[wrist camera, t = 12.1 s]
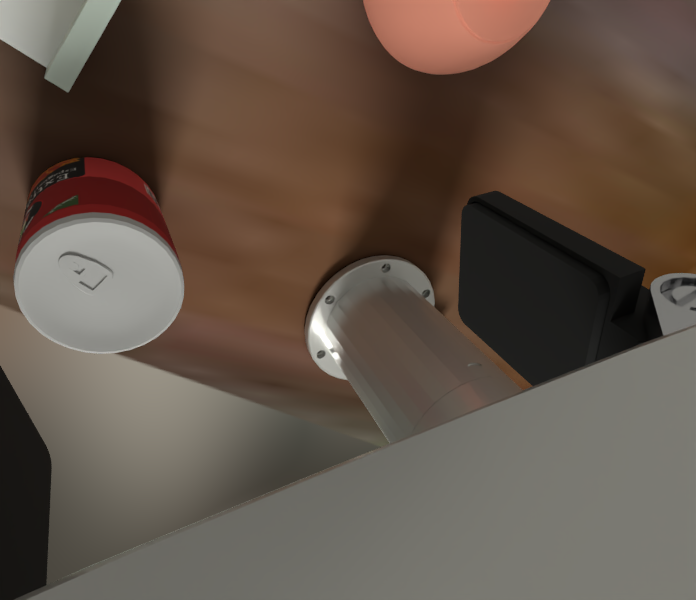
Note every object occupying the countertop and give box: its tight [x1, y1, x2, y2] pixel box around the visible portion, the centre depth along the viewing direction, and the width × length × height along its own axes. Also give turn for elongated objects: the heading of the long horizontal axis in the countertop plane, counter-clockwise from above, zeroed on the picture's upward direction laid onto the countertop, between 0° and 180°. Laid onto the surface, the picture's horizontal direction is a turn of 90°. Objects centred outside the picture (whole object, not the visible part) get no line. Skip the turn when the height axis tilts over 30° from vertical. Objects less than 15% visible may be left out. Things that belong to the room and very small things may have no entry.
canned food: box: [13, 157, 184, 354], centre depth 31 cm, size 8×8×11 cm
